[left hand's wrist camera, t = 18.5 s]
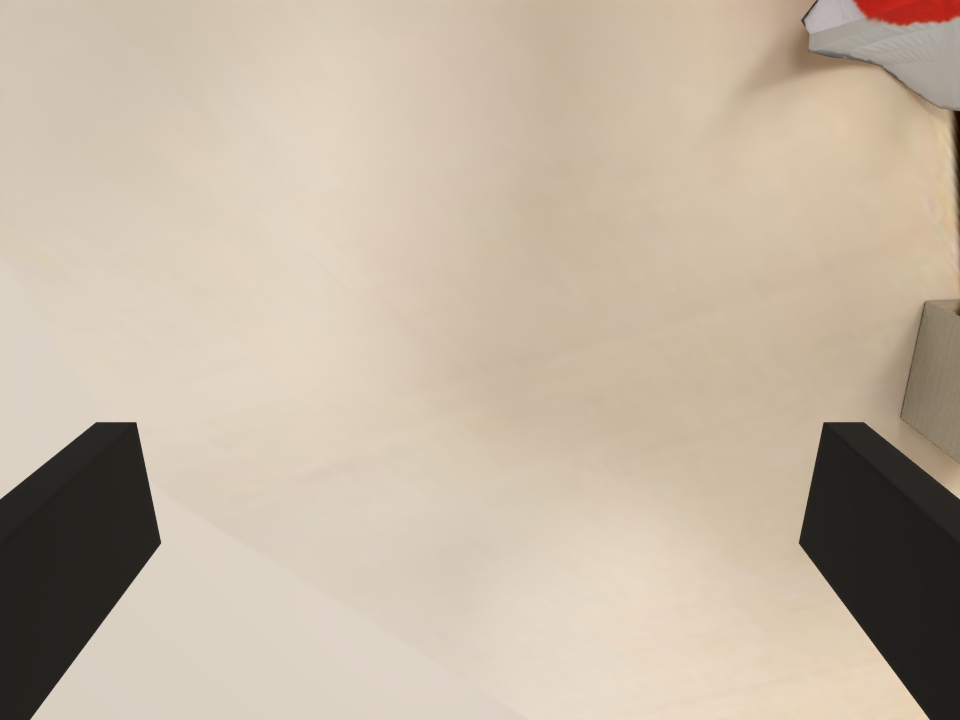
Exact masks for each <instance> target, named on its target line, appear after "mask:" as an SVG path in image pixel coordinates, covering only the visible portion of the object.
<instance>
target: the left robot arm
mask: <svg viewBox="0 0 960 720" xmlns="http://www.w3.org/2000/svg"><path fill="white" fill-rule="evenodd" d="M160 544H161V540H160V535H159V530H158V526H157V521H156V516H155V511H154V506H153V501H152V496H151V491H150V487H149V482H148V477H147V472H146V467H145V462H144V457H143V453H142V448H141V443H140V438H139V433H138V428H137V423H136V422H96V423H95V424H93V425H92V426H91V427H90V428H89V429H87V430H86V431H85V432H84V433H82V434H81V435H80V436H79V437H77V438H76V439H75V440H74V441H72V442H71V443H70V444H69V445H67V446H66V447H65V448H64V449H62V450H61V451H60V452H59V453H57V454H56V455H55V456H54V457H52V458H51V459H50V460H49V461H48V462H46V463H45V464H44V465H43V466H41V467H40V468H39V469H38V470H36V471H35V472H34V473H33V474H31V475H30V476H29V477H28V478H26V479H25V480H24V481H23V482H21V483H20V484H19V485H18V486H16V487H15V488H14V489H13V490H11V491H10V492H9V493H8V494H6V495H5V496H4V497H3V498H1V499H0V720H30V719H31V718H32V716H33V715H34V714H35V712H36V711H37V710H38V708H39V707H40V706H41V704H42V703H43V702H44V700H45V699H46V698H47V696H48V695H49V694H50V692H51V691H52V689H53V688H54V687H55V685H56V684H57V683H58V681H59V680H60V679H61V677H62V676H63V675H64V673H65V672H66V671H67V669H68V668H69V667H70V665H71V664H72V663H73V661H74V660H75V659H76V657H77V656H78V654H79V653H80V652H81V650H82V649H83V648H84V646H85V645H86V644H87V642H88V641H89V640H90V638H91V637H92V636H93V634H94V633H95V632H96V630H97V629H98V628H99V626H100V625H101V623H102V622H103V621H104V619H105V618H106V617H107V615H108V614H109V613H110V611H111V610H112V609H113V607H114V606H115V605H116V603H117V602H118V601H119V599H120V598H121V597H122V595H123V594H124V593H125V591H126V590H127V588H128V587H129V586H130V584H131V583H132V582H133V580H134V579H135V578H136V576H137V575H138V574H139V572H140V571H141V570H142V568H143V567H144V566H145V564H146V563H147V562H148V560H149V559H150V557H151V556H152V555H153V553H154V552H155V551H156V549H157V548H158V547H159V545H160ZM799 544H800V545H801V547H802V548H803V549H804V551H805V552H806V553H807V555H808V556H809V558H810V559H811V560H812V562H813V563H814V564H815V566H816V567H817V568H818V570H819V571H820V572H821V574H822V575H823V576H824V578H825V579H826V580H827V582H828V583H829V584H830V586H831V587H832V588H833V590H834V591H835V593H836V594H837V595H838V597H839V598H840V599H841V601H842V602H843V603H844V605H845V606H846V607H847V609H848V610H849V611H850V613H851V614H852V615H853V617H854V618H855V619H856V621H857V622H858V624H859V625H860V626H861V628H862V629H863V630H864V632H865V633H866V634H867V636H868V637H869V638H870V640H871V641H872V642H873V644H874V645H875V646H876V648H877V649H878V650H879V652H880V653H881V655H882V656H883V657H884V659H885V660H886V661H887V663H888V664H889V665H890V667H891V668H892V669H893V671H894V672H895V673H896V675H897V676H898V677H899V679H900V680H901V681H902V683H903V684H904V685H905V687H906V688H907V690H908V691H909V692H910V694H911V695H912V696H913V698H914V699H915V700H916V702H917V703H918V704H919V706H920V707H921V708H922V710H923V711H924V712H925V714H926V715H927V716H928V718H929V719H930V720H960V499H959V498H957V497H956V496H955V495H954V494H952V493H951V492H950V491H949V490H947V489H946V488H945V487H944V486H942V485H941V484H940V483H939V482H937V481H936V480H935V479H934V478H932V477H931V476H930V475H929V474H927V473H926V472H925V471H924V470H922V469H921V468H920V467H919V466H918V465H916V464H915V463H914V462H913V461H911V460H910V459H909V458H908V457H906V456H905V455H904V454H903V453H901V452H900V451H899V450H898V449H896V448H895V447H894V446H893V445H891V444H890V443H889V442H888V441H886V440H885V439H884V438H883V437H881V436H880V435H879V434H878V433H876V432H875V431H874V430H873V429H871V428H870V427H869V426H868V425H867V424H865V423H864V422H824V423H823V428H822V433H821V438H820V443H819V448H818V453H817V457H816V462H815V467H814V472H813V477H812V482H811V487H810V491H809V496H808V501H807V506H806V511H805V516H804V521H803V525H802V530H801V535H800V540H799Z"/></svg>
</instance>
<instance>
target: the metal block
mask: <svg viewBox="0 0 960 720" xmlns="http://www.w3.org/2000/svg"><path fill="white" fill-rule="evenodd" d="M901 419H902V420H904V421H905V422H906V423H907V424H909V425H910V426H911V427H913V428H914V429H915V430H917V431H918V432H919V433H920V434H922V435H923V436H924V437H926V438H927V439H928V440H930V441H931V442H932V443H933V444H935V445H936V446H937V447H939V448H940V449H941V450H943V451H944V452H945V453H946V454H948V455H949V456H950V457H952V458H953V459H954V460H956V461H957V462H958V463H959V464H960V300H941V301H926V302H925V307H924V312H923V316H922V321H921V325H920V330H919V335H918V339H917V344H916V349H915V353H914V358H913V363H912V367H911V372H910V377H909V381H908V386H907V391H906V395H905V400H904V405H903V409H902V414H901Z"/></svg>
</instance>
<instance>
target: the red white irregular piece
mask: <svg viewBox="0 0 960 720" xmlns="http://www.w3.org/2000/svg"><path fill="white" fill-rule="evenodd" d="M801 21H802V22H803V24H804V26H805V28H806V29H807V31H808V33H809V49H808V52H812V53H816V54H821V55H825V56H829V57H833V58H842V59H850V60H858V61H862V62H867V63H871V64H875V65H880V66H882V67H883V68H884V69H885V70H886V71H888V72H889V73H890V74H891V75H892V76H894V77H895V78H896V79H897V80H899V81H900V82H902V83H903V84H904V85H906V86H907V87H909V88H910V89H911V90H913V91H914V92H915V93H917V94H918V95H919V96H921V97H922V98H923V99H925V100H926V101H928V102H930V103H931V104H933V105H935V106H937V107H938V108H941V109H948V110H956V111H960V0H816V2H815V3H814V4H813V6H812V7H811V8H810V9H809V11H808V12H807V13H806V15H805V16H804V17H803V19H802V20H801Z"/></svg>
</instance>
